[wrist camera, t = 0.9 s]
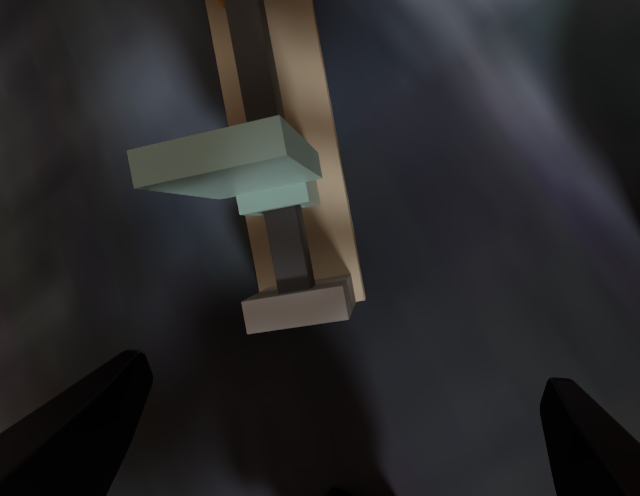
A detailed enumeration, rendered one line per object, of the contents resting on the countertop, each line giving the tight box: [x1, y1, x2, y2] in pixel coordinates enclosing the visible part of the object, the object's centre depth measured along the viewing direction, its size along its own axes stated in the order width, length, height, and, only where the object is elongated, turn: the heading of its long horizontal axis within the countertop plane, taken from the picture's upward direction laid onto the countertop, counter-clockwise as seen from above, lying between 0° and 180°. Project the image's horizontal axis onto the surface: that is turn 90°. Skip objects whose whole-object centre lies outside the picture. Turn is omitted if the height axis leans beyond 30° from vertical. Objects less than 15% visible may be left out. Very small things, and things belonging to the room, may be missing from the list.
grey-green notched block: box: [127, 115, 323, 216], centre depth 18 cm, size 3×5×10 cm, turn 100°
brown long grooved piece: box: [205, 0, 366, 334], centre depth 22 cm, size 20×6×6 cm, turn 11°
